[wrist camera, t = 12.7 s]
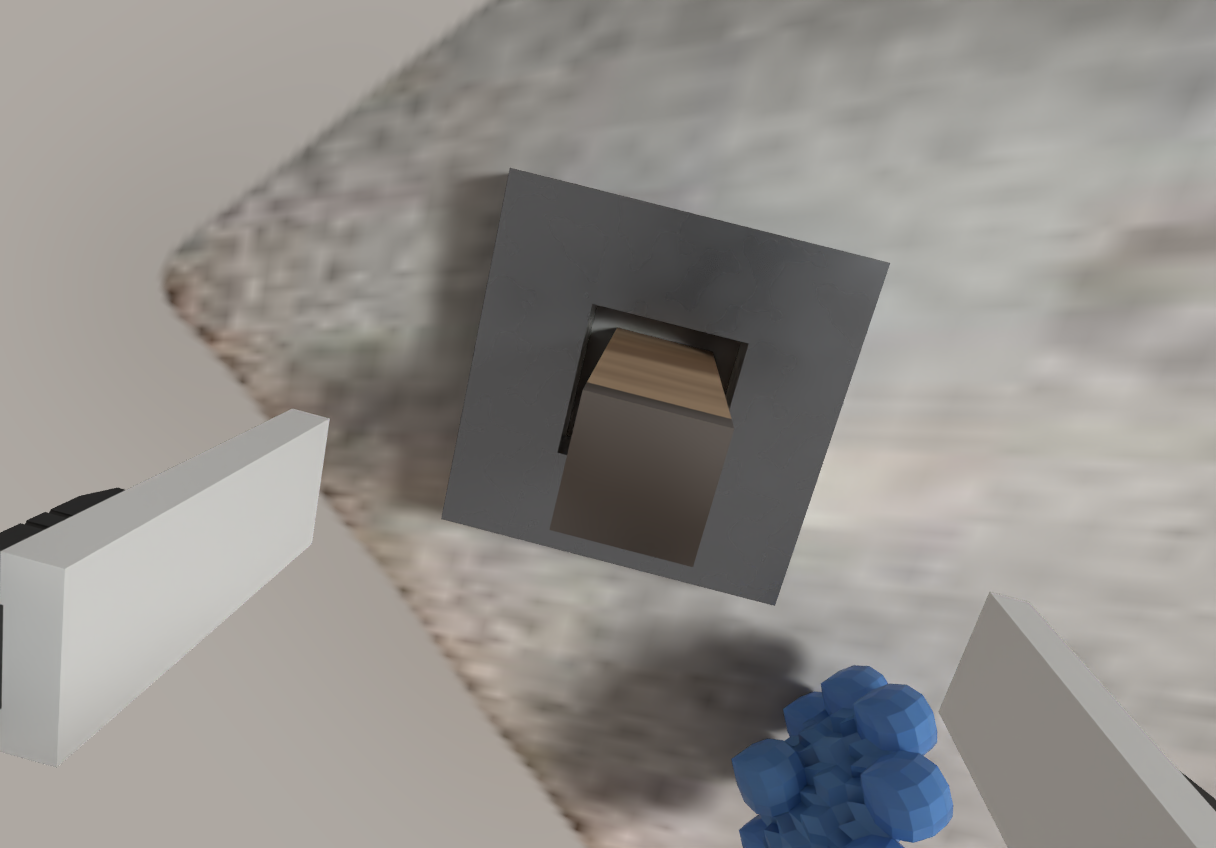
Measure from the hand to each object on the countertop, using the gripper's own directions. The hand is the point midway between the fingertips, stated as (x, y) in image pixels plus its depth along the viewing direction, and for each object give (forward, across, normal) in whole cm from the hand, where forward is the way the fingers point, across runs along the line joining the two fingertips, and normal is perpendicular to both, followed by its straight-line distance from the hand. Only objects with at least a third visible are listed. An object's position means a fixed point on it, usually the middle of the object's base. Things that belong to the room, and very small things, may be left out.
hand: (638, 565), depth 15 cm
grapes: (+18, +9, -13) cm, 24 cm away
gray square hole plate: (+17, 0, 0) cm, 17 cm away
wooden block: (+17, 0, 0) cm, 17 cm away
